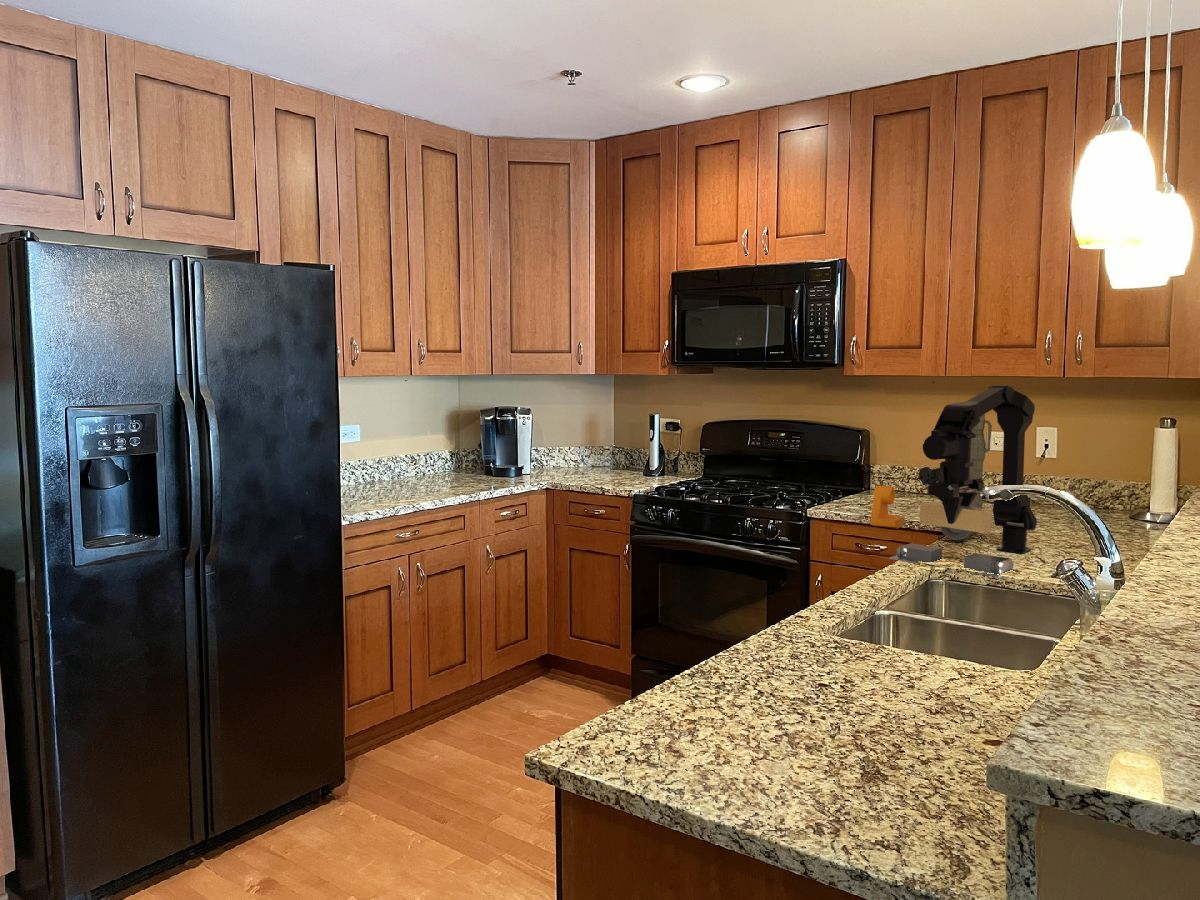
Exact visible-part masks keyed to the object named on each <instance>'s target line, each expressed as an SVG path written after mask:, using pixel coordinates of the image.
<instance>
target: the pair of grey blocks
mask: <svg viewBox="0 0 1200 900" xmlns="http://www.w3.org/2000/svg"><path fill="white" fill-rule="evenodd" d="M895 554H896V555H893V556H890V557H888V559H889V560H896V561H902V560H904V561H902V562H907V563H912V562H913V564H918V563H917V562H918V561H922V562H934V561H937V560H940V559H942V558H943V547H937V546H931V545H925V544H919V543H908V544H904V545H900V546H898V547H897V548H896V550H895ZM963 561H964V568H970V569H975V570H978V571H984V572H989V573H994V574H987V573H977V574H979V575H983V576H991V577H996V578H1003V579H1006V578H1007V577H1004V576H999V575H1000V574H1002V573H1005V572H1007V571H1010V570H1013V571H1018V573H1020V572H1021V570H1019V569H1013V568H1014V566H1015V565H1014V564H1015V563H1014V562H1013V560H1012V559H1011V558H1010V557H1009V558H1008V557H1002V556H996V555H989V554H983V553H977V552H976V553H975V552H974V553H972V554H968V555H965V556H964V559H963ZM1019 571H1020V572H1019ZM961 572H964V571H963V570H962V571H961ZM973 574H975V573H974V572H973ZM997 574H999V575H997Z"/></svg>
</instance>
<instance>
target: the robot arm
mask: <svg viewBox="0 0 1200 900" xmlns="http://www.w3.org/2000/svg"><path fill="white" fill-rule="evenodd" d="M1035 407H1036V406H1035V404H1034V402H1033V401H1032V400H1031V399H1030V398H1029V397H1028V396H1027V395H1025V394H1024V393H1021V392H1019V391H1017V390H1015V389H1014V388H1013V387H1012V386H1010V385H1007V384H1002V385H1001V384H993V385H991V386H989V387H988V388H987V389H986V390H984V391H982V392H980V393H978V394H977V395H975V396H973V397H972V398H970V399H967V400H965V401H961V402H953V403H952V402H951V403H948V404H946V405H944V407H943V409H942V411H941V413H940V415H939V416H938V417H939V418H938V419H937V422H936V423H935V425H934V427H933V430H931V432H930V435H929V436H927V437H926V438H925V440H924V442H923V444H922V452H923V454H924V456H925V457H926V458H927V459H929V460H932V461H938V460H942V461H941V462H940V463H939V467H938V468H933V469H931V467H929V466H924V467H921V468H919V472H918V473H917V474H918V477H917V480H919V481H921V483H922V486H927V489H926V490H927V493H926V494H927V496H934V497H935V498H938V499H939V501H941V503H942V504H943V506H944V510H945V514H946V517H947V521H948V523H949V524H953V523H954V520H955V518H956V515H957V513H958V510H959V507H960V506H968V507H969V506H970V504H971V503H972V501H973V499H974V498H975V496H976V495H977V493H976V492H972V489H977V491H981V490H982V489H983V488H984V489H985V481H984V480H983V478H982V479H981V478H971V477H970V467H972V466H973V464H974V462H970V461H971V438H975V437H976V435H975V434H974V433H973V432H972V431H971V430H972V429H973V428H974V427H975V426H976V425H977V424H978V423H979V422H980V417H981V416H982V415H984V414H987V413H989V412H990V411H992V410H993V411H994V412H995V413H996V419H997V420H996V421H997V424H998V425H999V427H1000V429H1001V430H1002V432H1003V441H1002V442H1003V443H1002V445H1003V446H1002V449H1003V450H1002V476H1001V479H1002V481H1001V482H1002V483H1001V486H1002V485H1023V486H1024V477H1025V476H1024V473H1025V471H1024V469H1025V446H1026V445H1025V439H1026V431H1027V430H1028V428H1030V426H1031V425H1032V423H1033V420H1034V414H1035ZM982 491H983V490H982ZM992 514H993V515H992V516H993V521H994V526H995V527H996V526H997V527H998V526H999V527H1002V538H1001V542H1002V543H1001V546H998V547H996V551H999V552H1000V551H1001V552H1007V553H1014V554H1022V555H1023V554H1026V553H1029V552H1031V551H1032V548H1028V547H1027V539H1028V538H1027V536H1028V531H1035V529H1036V527H1037V522H1038V520H1037V518H1036V516H1035V514H1034V512H1033V510H1032V508H1031V500H1030V498H1029V496H1028V494H1027V495H1020V496H1017V497H1014V498H1013V499H1011V500H1007V501H1005V500H996V501H993V507H992Z"/></svg>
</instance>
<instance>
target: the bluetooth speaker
mask: <svg viewBox="0 0 1200 900" xmlns="http://www.w3.org/2000/svg"><path fill="white" fill-rule="evenodd" d="M969 507H975V508H982V509H984V508H983V505H982V506H981V505H980V504H979V503H978V502H976V501H972V503H971V504H970V506H969ZM939 529H940V531H941V533H942V535H944V536H945V537H946V538H948V539H950V540H953V541H958V542H965V541H967V540H968V539H969V538H970V537H971V536H972V535H973V534H975V533H976V532H973V531H967V530H961V529H954V528H948V527H942V526H939Z"/></svg>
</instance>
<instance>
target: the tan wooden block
mask: <svg viewBox="0 0 1200 900" xmlns="http://www.w3.org/2000/svg"><path fill="white" fill-rule="evenodd" d="M919 504H920V505H919V507H920V508H919V523H920V524H923V525H930V526H937V527H940V526H942V527H948V528H954V529H961V530H967V531H973V532H975V533H981V534H983V533H988V532H991V531H992V517H993V515H992V514H993V509H987V508H983V507H982V508H983V509H982V508H975V507H968V506H960V507H959V510H958V513H957V515H956V518H955V520H954V523H953V524H949V523H948V521H947V517H946V514H945V510H944V506H943V504H942V502H937V501H923V502H920V503H919Z"/></svg>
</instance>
